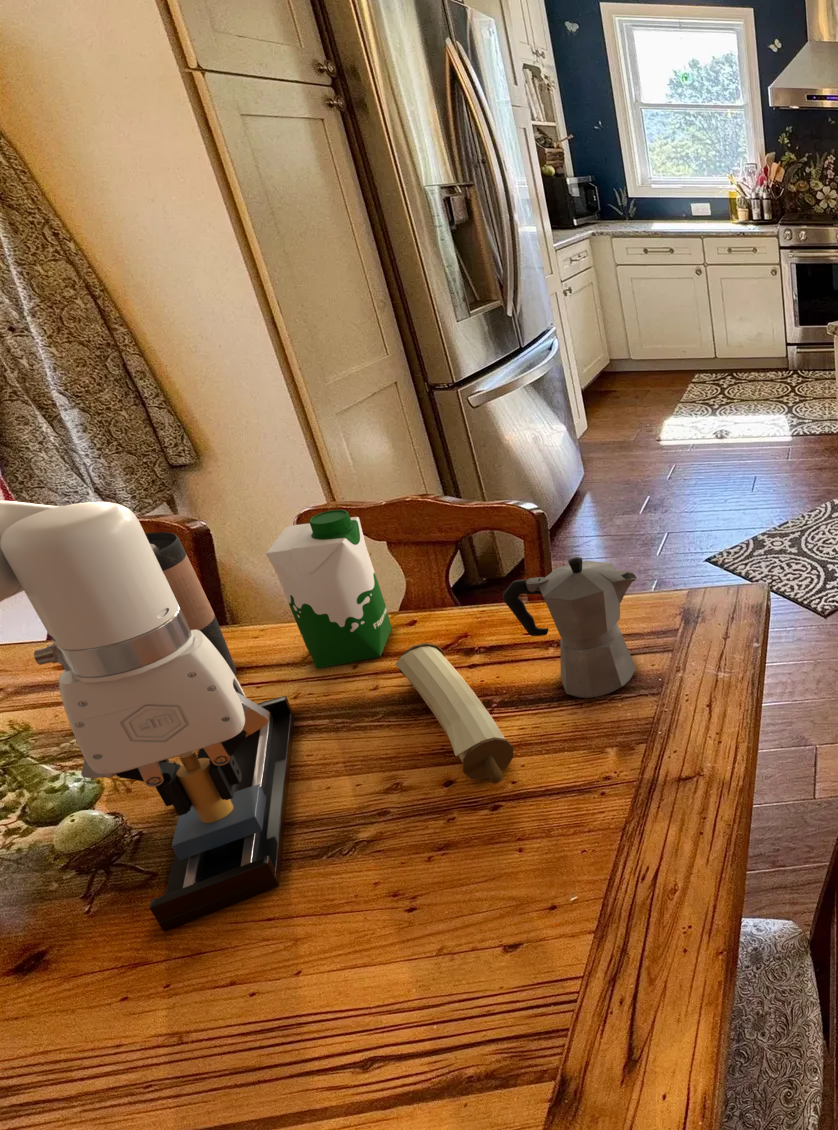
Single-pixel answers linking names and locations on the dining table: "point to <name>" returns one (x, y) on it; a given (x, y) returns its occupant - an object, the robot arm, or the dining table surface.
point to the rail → (251, 858)
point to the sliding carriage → (213, 811)
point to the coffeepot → (582, 623)
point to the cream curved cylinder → (457, 712)
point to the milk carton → (332, 588)
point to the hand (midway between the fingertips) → (208, 796)
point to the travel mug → (188, 590)
